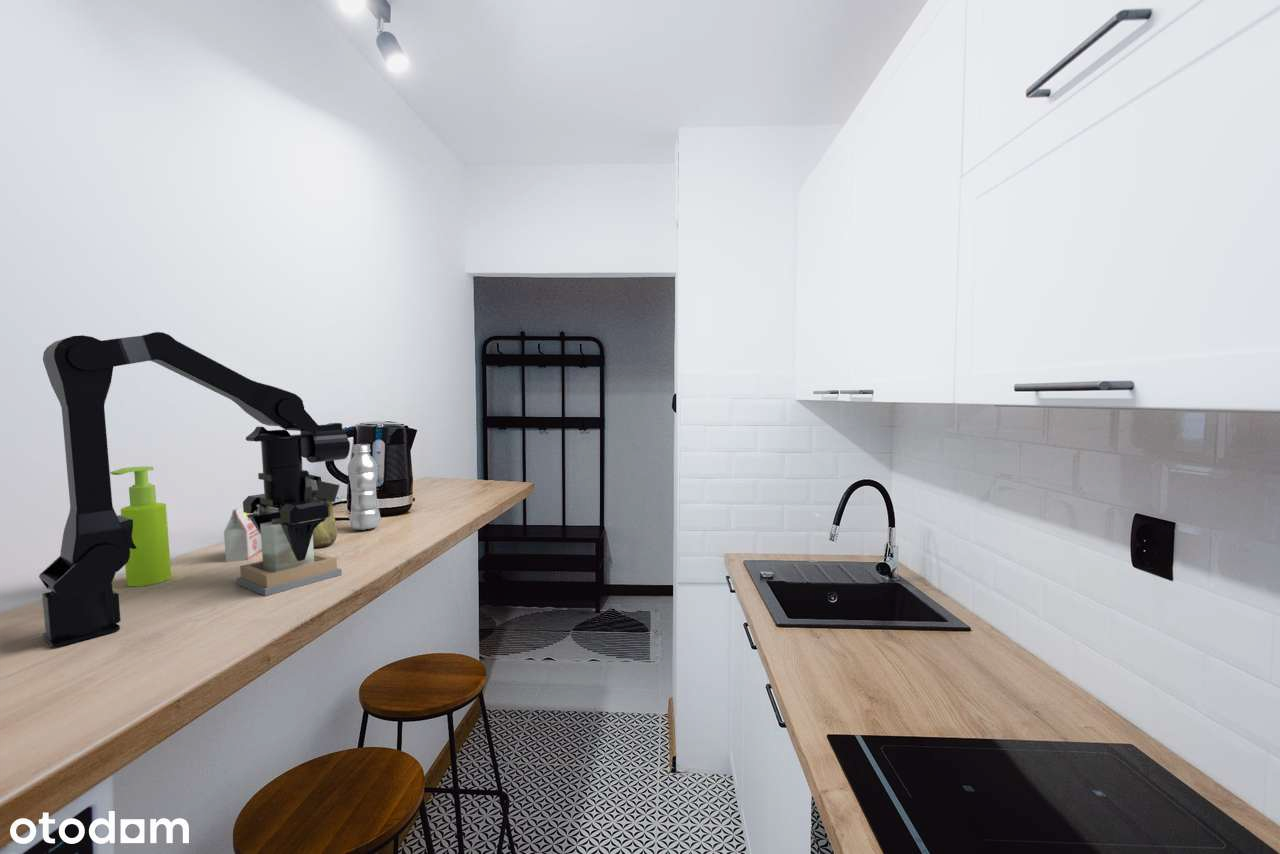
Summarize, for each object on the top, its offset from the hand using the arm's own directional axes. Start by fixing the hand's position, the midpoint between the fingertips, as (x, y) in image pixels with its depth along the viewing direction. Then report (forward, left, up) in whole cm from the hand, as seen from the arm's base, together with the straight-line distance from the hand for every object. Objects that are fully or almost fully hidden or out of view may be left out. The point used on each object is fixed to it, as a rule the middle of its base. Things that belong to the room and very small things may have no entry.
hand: (288, 556), depth 97 cm
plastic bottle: (+27, +24, -4) cm, 36 cm away
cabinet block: (0, 0, -3) cm, 3 cm away
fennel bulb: (+14, +18, -4) cm, 23 cm away
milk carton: (+2, +24, -4) cm, 24 cm away
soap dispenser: (-14, +21, -4) cm, 26 cm away
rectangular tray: (0, 0, -4) cm, 4 cm away
